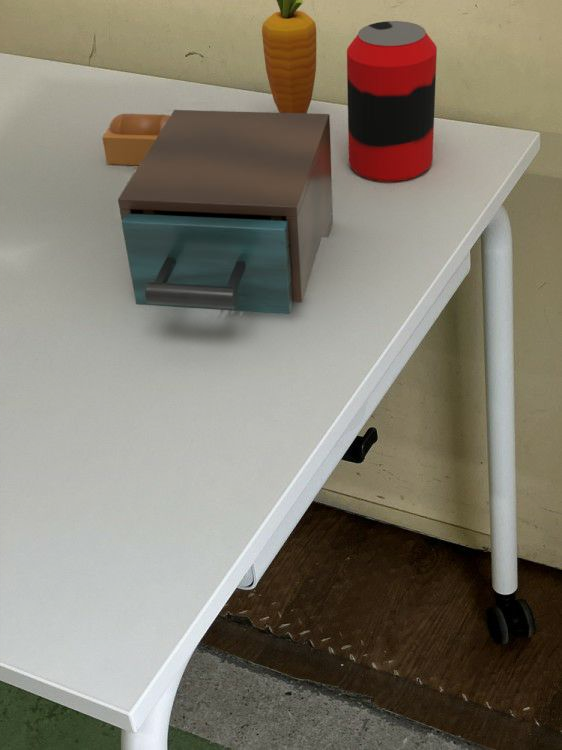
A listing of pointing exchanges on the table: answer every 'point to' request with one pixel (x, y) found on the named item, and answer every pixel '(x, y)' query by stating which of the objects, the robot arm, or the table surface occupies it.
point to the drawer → (209, 260)
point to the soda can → (391, 101)
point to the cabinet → (243, 174)
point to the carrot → (290, 56)
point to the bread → (131, 137)
